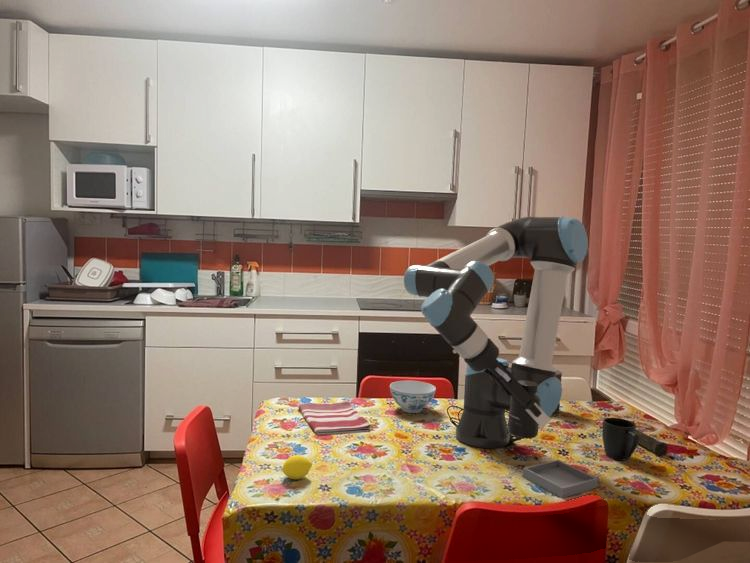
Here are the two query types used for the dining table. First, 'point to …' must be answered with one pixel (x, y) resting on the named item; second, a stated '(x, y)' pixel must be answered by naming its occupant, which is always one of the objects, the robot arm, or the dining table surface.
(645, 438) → the hand tool
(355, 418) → the dish towel
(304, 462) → the lemon
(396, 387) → the chinaware
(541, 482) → the tray
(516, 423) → the supplement bottle
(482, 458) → the dining table surface
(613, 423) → the mug
